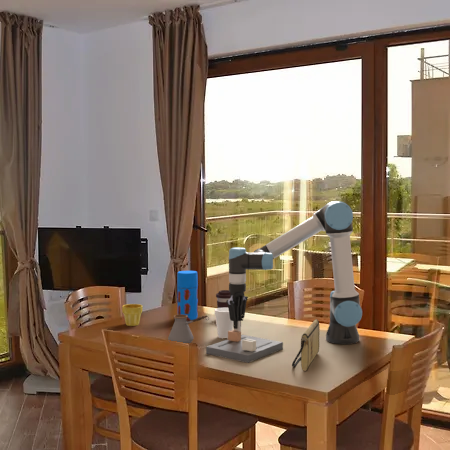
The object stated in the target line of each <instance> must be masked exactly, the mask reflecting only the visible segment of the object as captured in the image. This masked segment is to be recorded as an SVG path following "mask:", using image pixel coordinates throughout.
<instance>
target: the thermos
mask: <svg viewBox="0 0 450 450" xmlns="http://www.w3.org/2000/svg"><path fill="white" fill-rule="evenodd" d="M176 274H177V275H176V277H177V279H176V281H177V284H176V286H177V290H176V291H177V296H176V298H177V315H187V316H188V317H187V319H186V321H192V320H194V319H196V318H199V315H198V312H199V311H198V310H199V306H198V305H199V304H198V303H199V294H198V290H199V289H198V286H199V284H198V283H199V282H198V281H199V280H198V279H199V278H198V271H196V270H181V271H180V270H179V271H178V272H177V273H176Z"/></svg>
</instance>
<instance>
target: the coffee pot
mask: <svg viewBox="0 0 450 450" xmlns="http://www.w3.org/2000/svg"><path fill="white" fill-rule="evenodd" d="M187 317H188V316H187V315H178V314H174V315H173V318H174V323H173V325H172V327H171V330H170V332H169V335H168V338H167V340H168V341H169V340H171V341H177V342H183V343H189V344H191V343H192V342H193V340H194V335H193V332H192V330H191V328H190V326H189V324H192V323H196V322H198V321H201V320H204V319H205V320H206V321H209V320H210V318H209V315H202V316H200V317H199V316H198V317H197V318H196V319H194V320H186V319H187ZM207 318H208V319H207Z"/></svg>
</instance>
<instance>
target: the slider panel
mask: <svg viewBox="0 0 450 450" xmlns="http://www.w3.org/2000/svg"><path fill="white" fill-rule="evenodd" d="M244 339H251V340H256V350H255V351H247V350H242V340H244ZM205 349H206V350H205V351H206V352H205V354H207V355H212V356H216V357H220V358H224V359H225V358H226V359H229V360H234V361H239V362H243V363H248V364H250V363H252V362H254V361H256V360H258V359H259V360H260V359H261V358H264V357H266V356H269V355H271V354H274V353H277V352H278V351H281V350H283V349H284V342H283V341H279V340H273V339H268V338H264V337H262V338H261V337H257V336H251V335H247V334H241V341H238V342H235V341H230V340H228V339H225V340H222V341H219V342H216V343H212V344H210V345H207V346H206V347H205Z"/></svg>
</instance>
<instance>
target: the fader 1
mask: <svg viewBox="0 0 450 450" xmlns="http://www.w3.org/2000/svg"><path fill="white" fill-rule="evenodd" d="M241 335H242V330H241V331H235V330H234V329H233V330H230V331H228V338H227V340H230V341H235V342H238V341H241Z"/></svg>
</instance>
